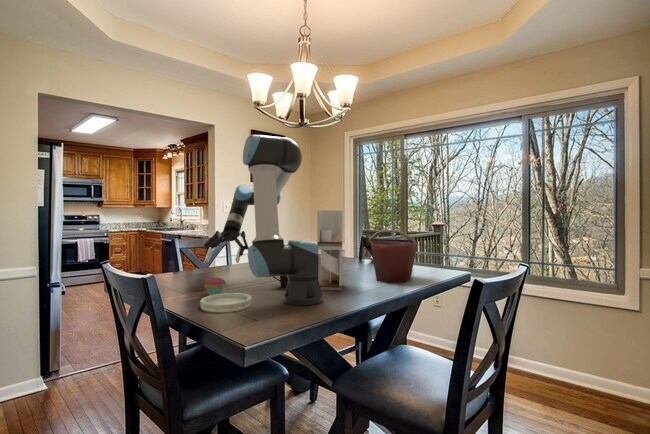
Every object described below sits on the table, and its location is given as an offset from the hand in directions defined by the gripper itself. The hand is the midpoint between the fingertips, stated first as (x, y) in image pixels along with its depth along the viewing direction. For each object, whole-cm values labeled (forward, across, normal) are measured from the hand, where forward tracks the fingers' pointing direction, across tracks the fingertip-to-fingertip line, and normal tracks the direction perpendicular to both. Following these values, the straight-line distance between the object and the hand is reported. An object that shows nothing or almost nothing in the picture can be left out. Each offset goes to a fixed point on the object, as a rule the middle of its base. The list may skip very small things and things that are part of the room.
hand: (221, 260), depth 155 cm
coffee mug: (+2, -26, -16) cm, 31 cm away
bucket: (-12, -77, -31) cm, 84 cm away
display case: (+2, -47, -17) cm, 50 cm away
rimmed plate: (+26, -11, +8) cm, 29 cm away
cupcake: (+15, 0, -3) cm, 16 cm away
